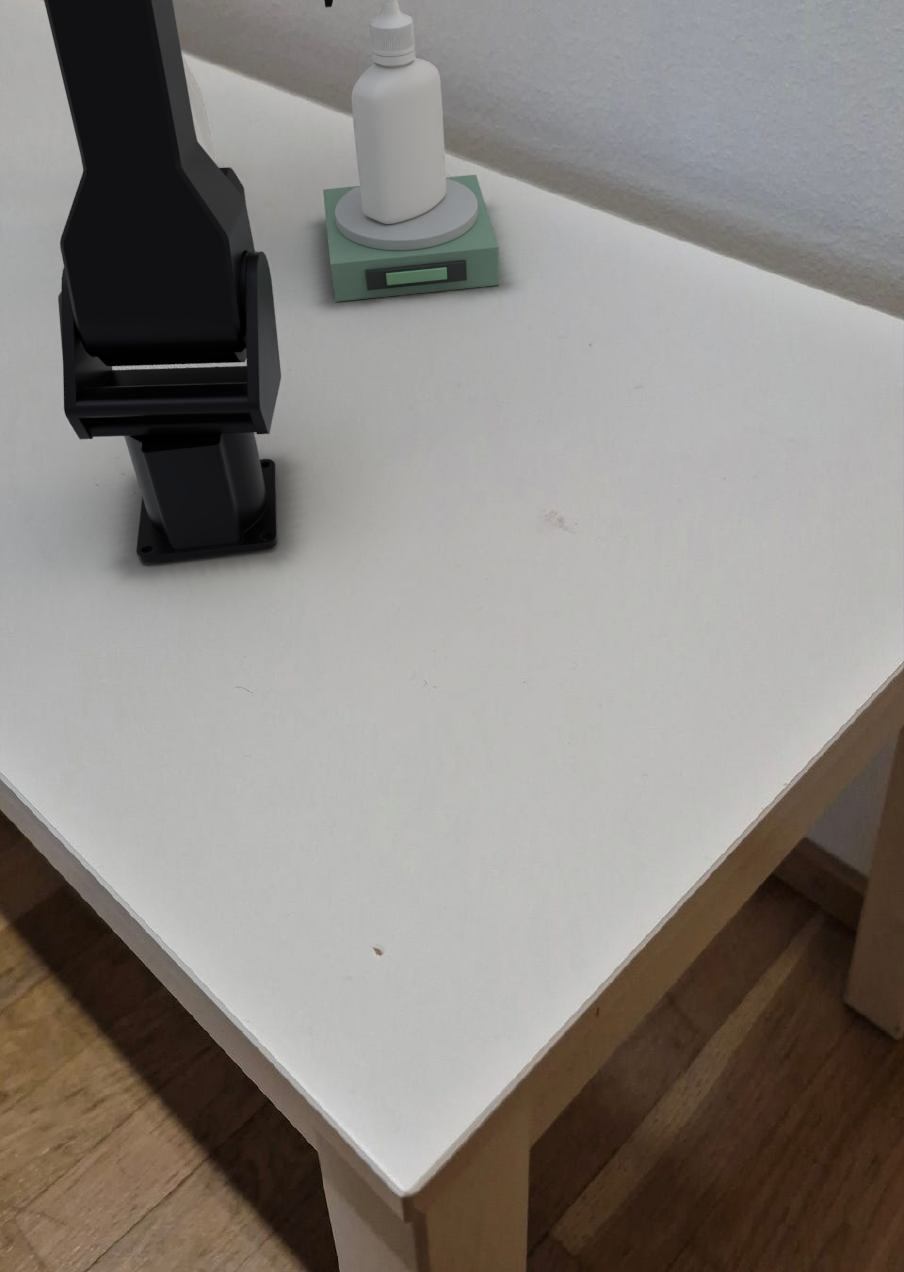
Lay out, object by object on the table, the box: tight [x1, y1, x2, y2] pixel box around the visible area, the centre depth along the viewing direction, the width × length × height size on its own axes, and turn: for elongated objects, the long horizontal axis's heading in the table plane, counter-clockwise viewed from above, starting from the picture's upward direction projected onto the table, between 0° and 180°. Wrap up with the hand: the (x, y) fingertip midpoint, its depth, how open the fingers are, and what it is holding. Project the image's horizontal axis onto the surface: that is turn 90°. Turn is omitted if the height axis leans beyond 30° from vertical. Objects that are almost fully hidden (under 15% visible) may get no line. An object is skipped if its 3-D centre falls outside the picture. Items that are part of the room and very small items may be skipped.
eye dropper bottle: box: [351, 0, 447, 224], centre depth 67 cm, size 4×6×12 cm
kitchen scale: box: [323, 174, 500, 303], centre depth 72 cm, size 10×10×3 cm
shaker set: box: [181, 51, 218, 166], centre depth 76 cm, size 12×4×11 cm, turn 13°
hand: (250, 12), depth 68 cm, fingers open, 9 cm apart
